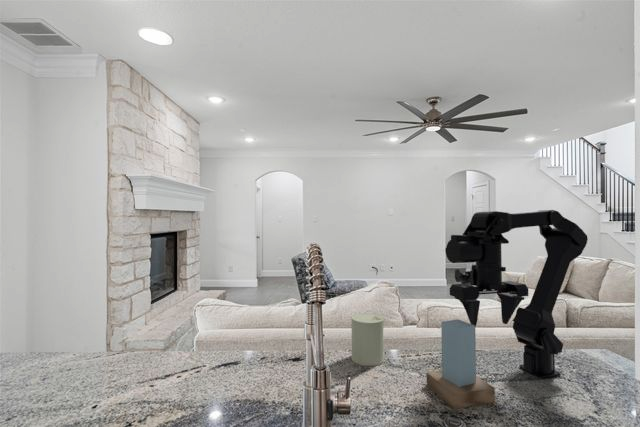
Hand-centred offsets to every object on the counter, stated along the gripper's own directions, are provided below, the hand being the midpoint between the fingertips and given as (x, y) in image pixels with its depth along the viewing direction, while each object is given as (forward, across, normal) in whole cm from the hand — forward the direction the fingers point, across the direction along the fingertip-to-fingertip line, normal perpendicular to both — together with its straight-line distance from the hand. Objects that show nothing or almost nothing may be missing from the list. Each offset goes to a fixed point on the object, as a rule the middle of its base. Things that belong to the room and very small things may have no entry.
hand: (489, 325), depth 79 cm
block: (+10, +12, +4) cm, 16 cm away
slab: (+13, +12, +4) cm, 18 cm away
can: (+13, +25, -18) cm, 33 cm away
